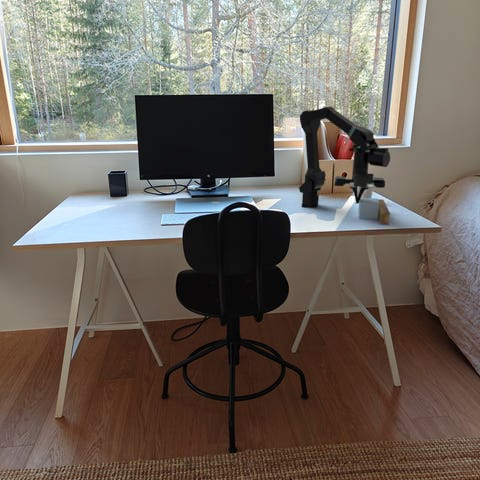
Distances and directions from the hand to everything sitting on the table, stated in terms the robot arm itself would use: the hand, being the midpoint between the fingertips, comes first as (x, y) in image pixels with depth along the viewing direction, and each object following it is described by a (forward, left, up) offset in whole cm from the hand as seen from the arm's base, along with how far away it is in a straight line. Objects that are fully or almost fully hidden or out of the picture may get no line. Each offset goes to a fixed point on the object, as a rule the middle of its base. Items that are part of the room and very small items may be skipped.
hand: (357, 203), depth 168 cm
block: (+5, 0, -5) cm, 7 cm away
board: (+10, 0, -5) cm, 11 cm away
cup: (+4, +21, -5) cm, 22 cm away
